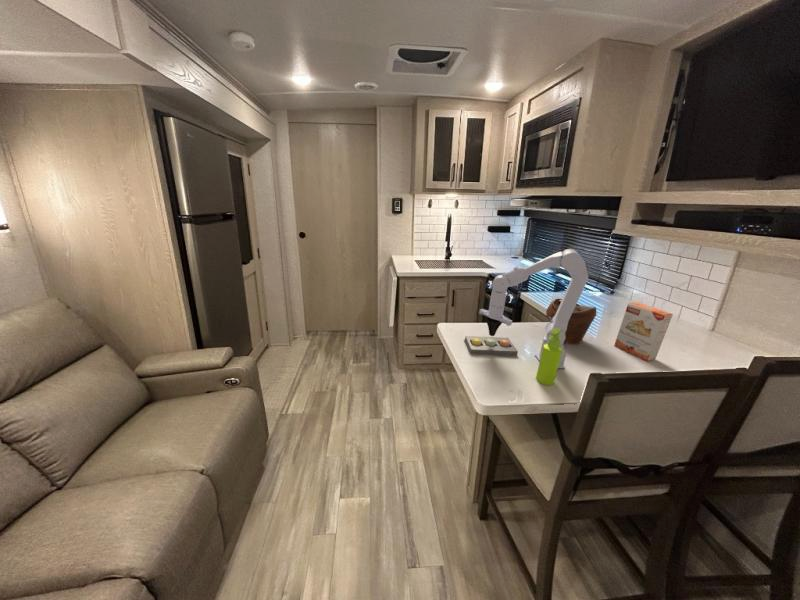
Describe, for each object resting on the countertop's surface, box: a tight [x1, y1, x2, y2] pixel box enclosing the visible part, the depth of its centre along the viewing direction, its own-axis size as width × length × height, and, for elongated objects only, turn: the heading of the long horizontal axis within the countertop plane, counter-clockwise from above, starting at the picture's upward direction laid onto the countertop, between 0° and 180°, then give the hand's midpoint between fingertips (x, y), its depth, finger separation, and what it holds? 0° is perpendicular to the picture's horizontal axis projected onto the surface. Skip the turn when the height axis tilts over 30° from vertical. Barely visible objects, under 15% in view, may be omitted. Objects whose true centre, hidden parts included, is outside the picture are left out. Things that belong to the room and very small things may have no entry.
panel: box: [464, 335, 519, 357], centre depth 128 cm, size 12×19×2 cm, turn 90°
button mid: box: [486, 339, 496, 346], centre depth 128 cm, size 4×4×3 cm
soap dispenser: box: [535, 328, 562, 386], centre depth 104 cm, size 6×7×20 cm
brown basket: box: [545, 298, 597, 345], centre depth 138 cm, size 18×20×18 cm
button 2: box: [499, 339, 511, 347], centre depth 128 cm, size 4×4×3 cm
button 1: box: [471, 338, 482, 346], centre depth 128 cm, size 4×4×3 cm
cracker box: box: [613, 301, 673, 362], centre depth 127 cm, size 14×6×21 cm, turn 23°
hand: (492, 335), depth 126 cm, fingers closed
